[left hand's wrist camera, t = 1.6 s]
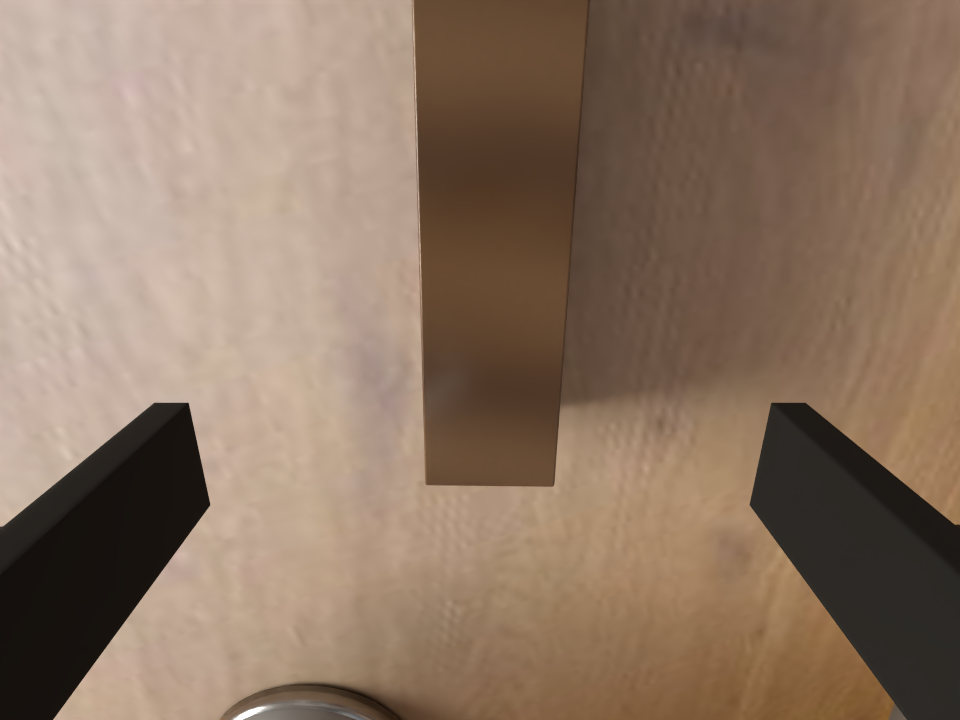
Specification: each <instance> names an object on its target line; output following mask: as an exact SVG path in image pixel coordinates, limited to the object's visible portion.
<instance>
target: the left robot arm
mask: <svg viewBox="0 0 960 720" xmlns="http://www.w3.org/2000/svg"><path fill="white" fill-rule="evenodd" d="M209 506H210V501H209V496H208V492H207V487H206V482H205V478H204V473H203V468H202V464H201V459H200V454H199V450H198V445H197V440H196V436H195V431H194V426H193V422H192V417H191V412H190V407H189V403H154V404H153V405H151V406H150V407H149V408H148V409H146V410H145V411H144V412H143V413H142V414H140V415H139V416H138V417H137V418H135V419H134V420H133V421H132V422H130V423H129V424H128V425H127V426H126V427H124V428H123V429H122V430H121V431H119V432H118V433H117V434H116V435H115V436H113V437H112V438H111V439H110V440H108V441H107V442H106V443H105V444H104V445H102V446H101V447H100V448H99V449H97V450H96V451H95V452H94V453H93V454H91V455H90V456H89V457H88V458H86V459H85V460H84V461H83V462H82V463H80V464H79V465H78V466H77V467H75V468H74V469H73V470H72V471H71V472H69V473H68V474H67V475H66V476H64V477H63V478H62V479H61V480H60V481H58V482H57V483H56V484H55V485H53V486H52V487H51V488H50V489H49V490H47V491H46V492H45V493H44V494H42V495H41V496H40V497H39V498H38V499H36V500H35V501H34V502H33V503H31V504H30V505H29V506H28V507H27V508H25V509H24V510H23V511H22V512H20V513H19V514H18V515H17V516H16V517H14V518H13V519H12V520H11V521H9V522H8V523H7V524H6V525H4V526H3V527H0V720H53V719H54V718H55V716H56V715H57V714H58V712H59V711H60V709H61V708H62V707H63V705H64V704H65V703H66V701H67V700H68V699H69V697H70V696H71V694H72V693H73V692H74V690H75V689H76V688H77V686H78V685H79V684H80V682H81V681H82V679H83V678H84V677H85V675H86V674H87V673H88V671H89V670H90V669H91V667H92V666H93V664H94V663H95V662H96V660H97V659H98V658H99V656H100V655H101V653H102V652H103V651H104V649H105V648H106V647H107V645H108V644H109V643H110V641H111V640H112V638H113V637H114V636H115V634H116V633H117V632H118V630H119V629H120V628H121V626H122V625H123V623H124V622H125V621H126V619H127V618H128V617H129V615H130V614H131V613H132V611H133V610H134V608H135V607H136V606H137V604H138V603H139V602H140V600H141V599H142V598H143V596H144V595H145V593H146V592H147V591H148V589H149V588H150V587H151V585H152V584H153V583H154V581H155V580H156V578H157V577H158V576H159V574H160V573H161V572H162V570H163V569H164V567H165V566H166V565H167V563H168V562H169V561H170V559H171V558H172V557H173V555H174V554H175V552H176V551H177V550H178V548H179V547H180V546H181V544H182V543H183V542H184V540H185V539H186V537H187V536H188V535H189V533H190V532H191V531H192V529H193V528H194V527H195V525H196V524H197V522H198V521H199V520H200V518H201V517H202V516H203V514H204V513H205V512H206V510H207V509H208V507H209ZM750 506H751V507H752V509H753V510H754V512H755V513H756V514H757V516H758V517H759V518H760V520H761V521H762V522H763V524H764V525H765V527H766V528H767V529H768V531H769V532H770V533H771V535H772V536H773V537H774V539H775V540H776V542H777V543H778V544H779V546H780V547H781V548H782V550H783V551H784V552H785V554H786V555H787V557H788V558H789V559H790V561H791V562H792V563H793V565H794V566H795V567H796V569H797V570H798V572H799V573H800V574H801V576H802V577H803V578H804V580H805V581H806V583H807V584H808V585H809V587H810V588H811V589H812V591H813V592H814V593H815V595H816V596H817V598H818V599H819V600H820V602H821V603H822V604H823V606H824V607H825V608H826V610H827V611H828V613H829V614H830V615H831V617H832V618H833V619H834V621H835V622H836V623H837V625H838V626H839V628H840V629H841V630H842V632H843V633H844V634H845V636H846V637H847V638H848V640H849V641H850V643H851V644H852V645H853V647H854V648H855V649H856V651H857V652H858V653H859V655H860V656H861V658H862V659H863V660H864V662H865V663H866V664H867V666H868V667H869V669H870V670H871V671H872V673H873V674H874V675H875V677H876V678H877V679H878V681H879V682H880V684H881V685H882V686H883V688H884V689H885V690H886V692H887V693H888V694H889V696H890V697H891V699H892V700H893V701H894V703H895V704H896V705H897V707H898V708H899V709H900V711H901V712H902V714H903V715H904V716H905V718H906V719H907V720H960V525H954V524H953V523H952V522H951V521H949V520H948V519H947V518H946V517H944V516H943V515H942V514H941V513H940V512H938V511H937V510H936V509H935V508H933V507H932V506H931V505H930V504H929V503H927V502H926V501H925V500H924V499H922V498H921V497H920V496H919V495H918V494H916V493H915V492H914V491H913V490H911V489H910V488H909V487H908V486H907V485H905V484H904V483H903V482H902V481H900V480H899V479H898V478H897V477H896V476H894V475H893V474H892V473H891V472H889V471H888V470H887V469H886V468H885V467H883V466H882V465H881V464H880V463H878V462H877V461H876V460H875V459H874V458H872V457H871V456H870V455H869V454H867V453H866V452H865V451H864V450H863V449H861V448H860V447H859V446H858V445H856V444H855V443H854V442H853V441H852V440H850V439H849V438H848V437H847V436H845V435H844V434H843V433H842V432H841V431H839V430H838V429H837V428H836V427H834V426H833V425H832V424H831V423H830V422H828V421H827V420H826V419H825V418H823V417H822V416H821V415H820V414H818V413H817V412H816V411H815V410H814V409H812V408H811V407H810V406H809V405H807V404H806V403H771V407H770V412H769V417H768V422H767V426H766V431H765V436H764V440H763V445H762V450H761V454H760V459H759V464H758V468H757V473H756V478H755V482H754V487H753V492H752V496H751V501H750ZM220 720H399V719H398V718H397V717H396V716H395V715H394V714H392V713H391V712H390V711H388V710H387V709H386V708H384V707H382V706H381V705H379V704H377V703H375V702H373V701H372V700H370V699H367V698H365V697H363V696H360V695H357V694H354V693H351V692H348V691H344V690H341V689H336V688H331V687H323V686H312V685H295V686H284V687H278V688H273V689H269V690H265V691H262V692H259V693H256V694H254V695H251V696H249V697H247V698H245V699H243V700H241V701H240V702H238V703H237V704H235V705H234V706H232V707H231V708H230V709H229V710H228V711H227V712H226V713H225V714H224V715H223V716H222V717H221V719H220Z"/></svg>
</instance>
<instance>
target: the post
mask: <svg viewBox="0 0 960 720" xmlns="http://www.w3.org/2000/svg"><path fill="white" fill-rule="evenodd" d="M589 3H590V0H412V21H413V57H414V93H415V128H416V164H417V200H418V236H419V272H420V308H421V343H422V379H423V415H424V451H425V483H426V485H463V486H551V487H552V486H554V481H555V467H556V454H557V440H558V426H559V413H560V399H561V385H562V372H563V358H564V344H565V331H566V317H567V303H568V290H569V276H570V262H571V249H572V235H573V221H574V208H575V194H576V180H577V167H578V153H579V139H580V126H581V112H582V98H583V85H584V71H585V57H586V44H587V30H588V16H589Z"/></svg>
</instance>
